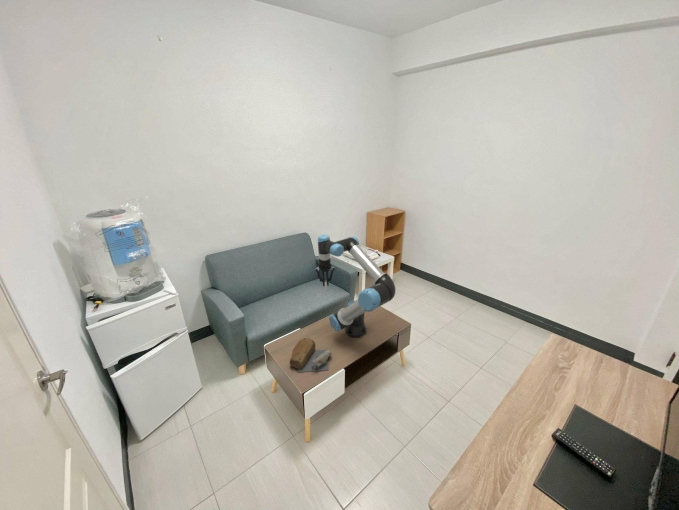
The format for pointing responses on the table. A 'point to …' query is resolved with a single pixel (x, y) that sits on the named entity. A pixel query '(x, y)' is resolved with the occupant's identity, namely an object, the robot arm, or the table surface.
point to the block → (302, 352)
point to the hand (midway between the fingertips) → (325, 289)
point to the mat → (310, 363)
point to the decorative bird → (322, 358)
